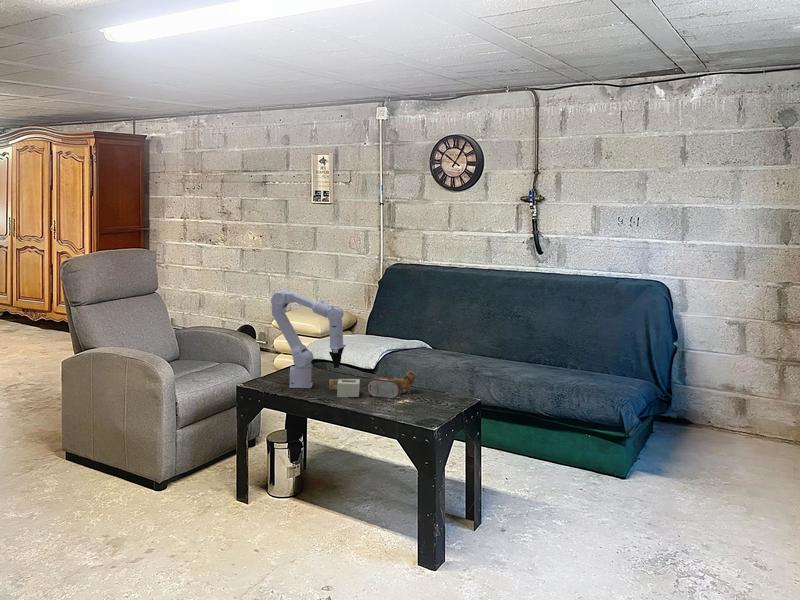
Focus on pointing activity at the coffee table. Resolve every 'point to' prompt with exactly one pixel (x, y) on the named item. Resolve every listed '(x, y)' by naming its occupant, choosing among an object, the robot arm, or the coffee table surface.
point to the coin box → (348, 388)
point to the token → (333, 384)
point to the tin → (384, 388)
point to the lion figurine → (407, 381)
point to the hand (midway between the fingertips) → (337, 365)
